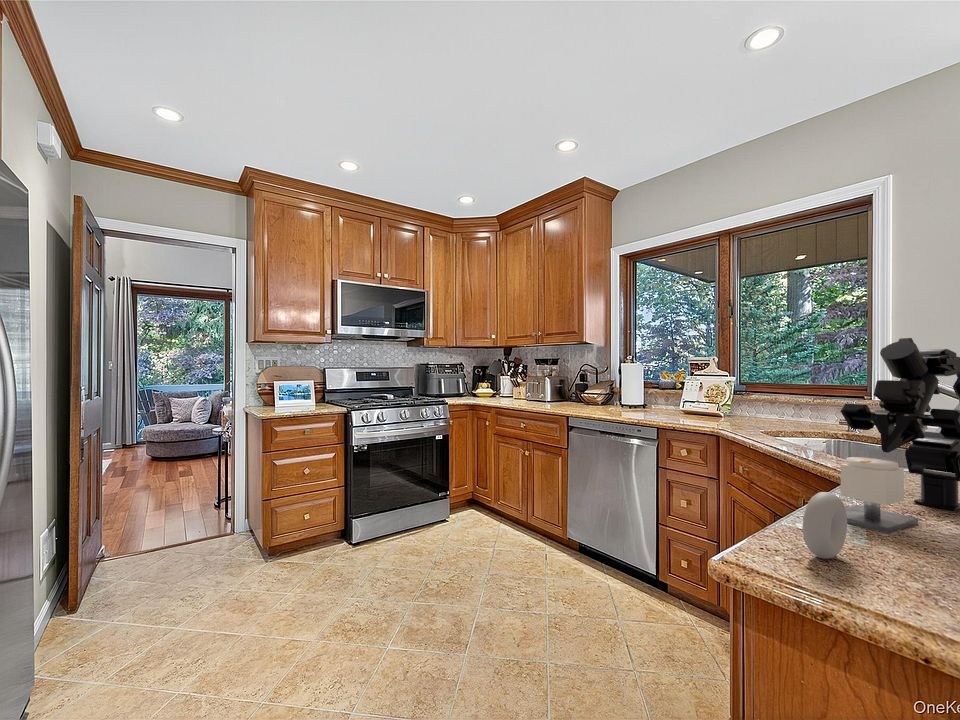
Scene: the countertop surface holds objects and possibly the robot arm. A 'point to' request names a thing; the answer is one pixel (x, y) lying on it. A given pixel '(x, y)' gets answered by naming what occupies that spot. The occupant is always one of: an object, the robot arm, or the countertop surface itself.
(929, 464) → the robot arm
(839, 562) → the countertop surface
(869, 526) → the plate
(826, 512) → the donut
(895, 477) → the knob
